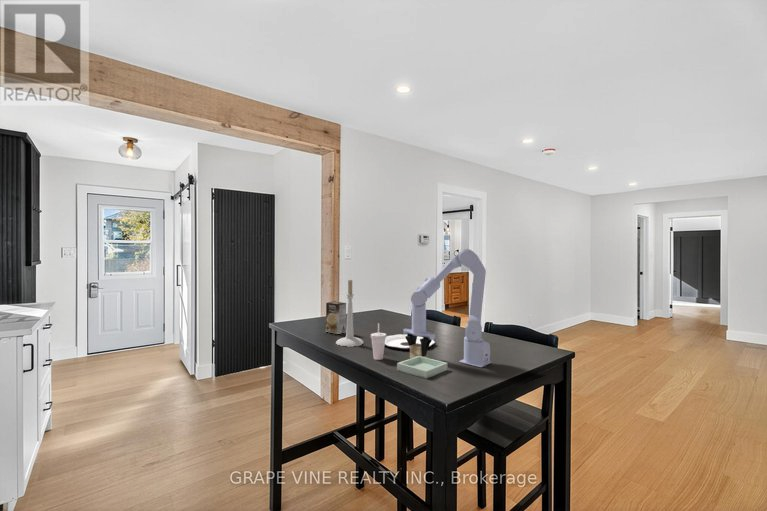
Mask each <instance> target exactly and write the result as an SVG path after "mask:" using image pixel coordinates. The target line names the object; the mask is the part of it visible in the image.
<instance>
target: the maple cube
mask: <svg viewBox="0 0 767 511" xmlns="http://www.w3.org/2000/svg"><path fill="white" fill-rule="evenodd" d="M417 356H422V348H421V344H418V343H417V344H413V345H410V350H409V359H411V358H414V357H417ZM422 357H426V358H428V353H427V354H426V356H422Z"/></svg>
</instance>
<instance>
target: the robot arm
mask: <svg viewBox="0 0 767 511" xmlns="http://www.w3.org/2000/svg"><path fill="white" fill-rule="evenodd" d="M462 266H464V267H466V268H467V269H468V270H469V271H470V272H471V273H472V275H473V278H472V285H471V286H472V288H471V296H470V306H469V316H468V322H467V323H466V325H465V330H464V337H463V359H460V360H459V363H462V364H466V365H470V366H474V367H478V368H483V367H486V366H488V365H489V364H491V363H492V361H491V345H490V343H489V342H487V341H485V340H484V337H483V336H482V335H483V326H482V324H481V323H482V322H481V321H482V311H483V303H484V302H483V301H484V295H485V294H484V293H485V283H486V274H487V270H486V267H485V266H484V264H483V263H482V260H481V259H480V257H479V256H478V255H477V253H475V252H474V251H473V250H472V249H468V248H466V249H462V250H460V252H459V253H458V254H456V255H455V256H453V257H452V258H451V259H450V260H449V261H448V262H447V263H446V264H445V265H444V266H443V267H442V268H441V269H440V270H439V272H437V273H436V275H435V276H430V277H427V278H425V279H424V283H422V285H420V287H419V286H418V287H417V288H416V290H417V291H414V292H412V294H411V296H410V302H411V307H412V308H411V329H410V328H403V329H402V330H403V331H402V332H403V333H402V335H407V336H405V338H406V340H407V342H406V343H407V344H408V346H409V347H410V345H413V344H416V340H417V336H419V337H423V338H422V339H420V342H421V348H422V356H426V354H427V355H428V350H429V348H430V347H429V345H430V343H431V341H432V340H433V341H434V340H435V339H436V334H435V333H432V332H429V331H427V309H426V306H427V305H426V303H427V301H428V299H430V298H431V297H432V296H433V295H434V294H435V293H436V292H437V291H438V290H439V289H440V288H441V282H442V281H443V280H444V279H445V278H446V277H447V276H449V274H451V272H453V270H454V269H458V268H461V267H462Z"/></svg>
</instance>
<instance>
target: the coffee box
mask: <svg viewBox="0 0 767 511" xmlns="http://www.w3.org/2000/svg"><path fill="white" fill-rule="evenodd" d="M325 305H326V306H325V333H326V332H330V333H335V334H341V333H344V334H346V333H345V332H346V328H347V302H341V301H328V302H326V303H325ZM330 333H329V334H330ZM335 334H334V335H335ZM341 335H342V334H341Z"/></svg>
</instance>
